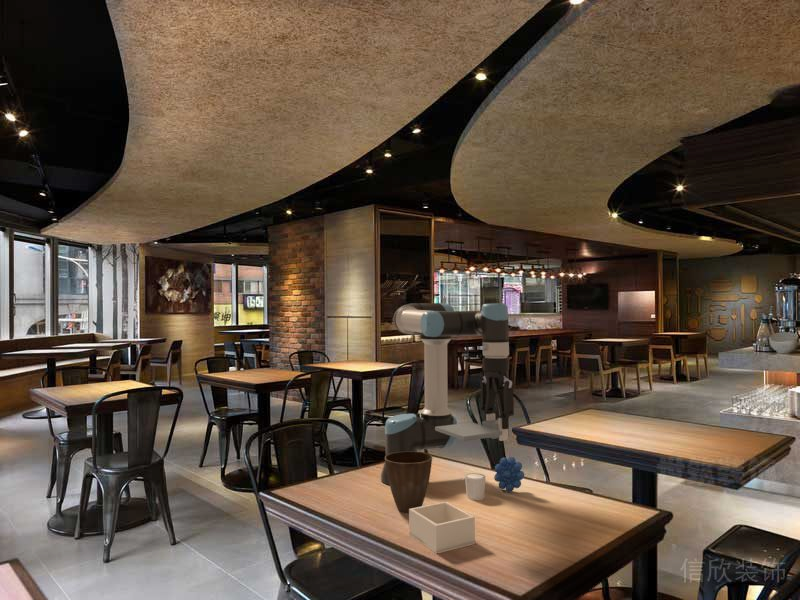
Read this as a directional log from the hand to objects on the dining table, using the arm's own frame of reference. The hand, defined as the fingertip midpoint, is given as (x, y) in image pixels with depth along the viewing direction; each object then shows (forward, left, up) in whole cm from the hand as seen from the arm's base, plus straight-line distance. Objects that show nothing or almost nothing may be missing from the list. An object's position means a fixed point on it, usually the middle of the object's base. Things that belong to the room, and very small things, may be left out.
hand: (497, 438), depth 157 cm
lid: (0, -7, +1) cm, 7 cm away
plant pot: (-25, -15, -25) cm, 39 cm away
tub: (0, -19, -25) cm, 31 cm away
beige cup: (-23, +9, -25) cm, 35 cm away
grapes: (-22, +23, -25) cm, 40 cm away
